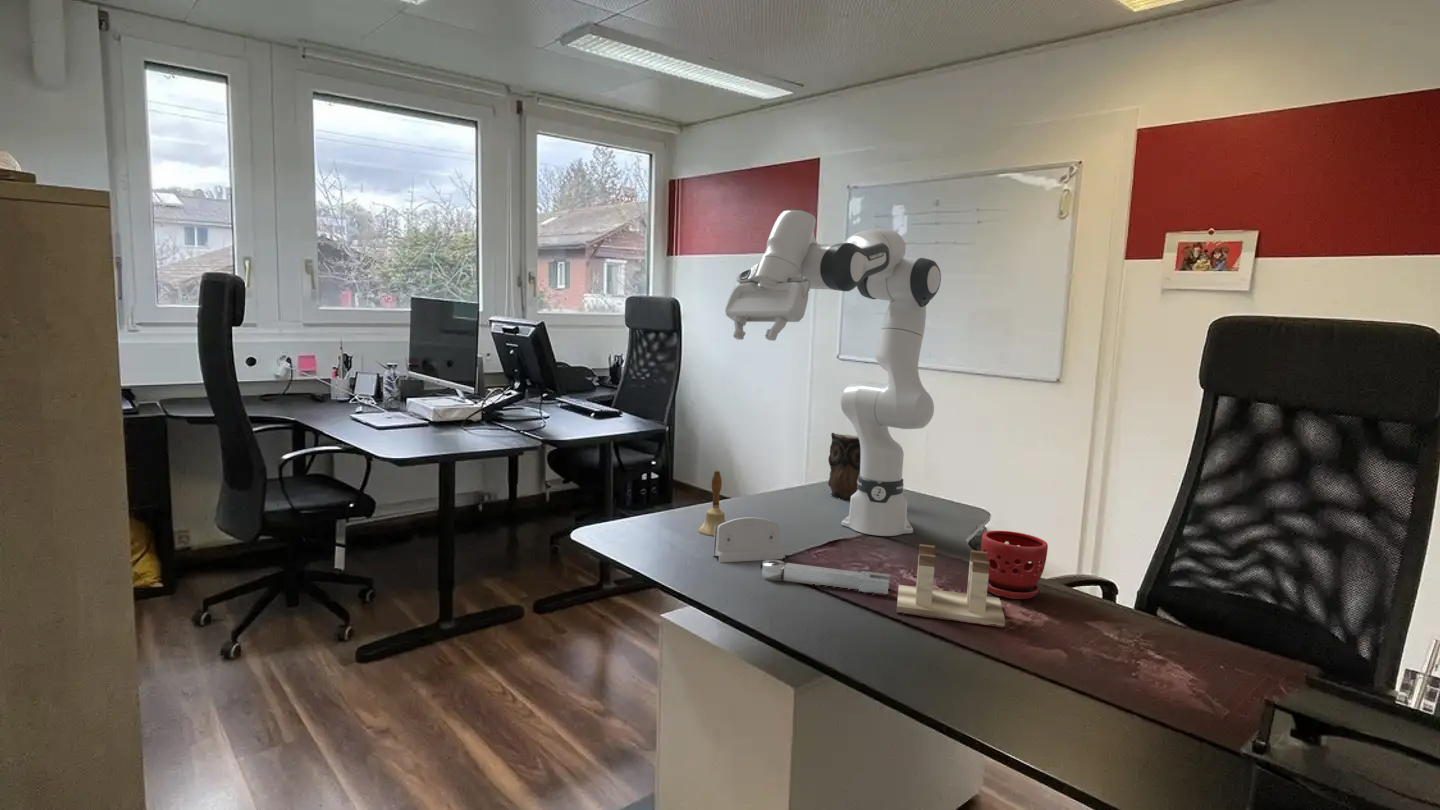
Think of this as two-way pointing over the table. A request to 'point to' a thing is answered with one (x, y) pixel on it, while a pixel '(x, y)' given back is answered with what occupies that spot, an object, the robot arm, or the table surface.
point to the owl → (844, 465)
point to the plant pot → (1014, 563)
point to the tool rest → (951, 603)
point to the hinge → (748, 540)
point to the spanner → (825, 576)
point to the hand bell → (713, 508)
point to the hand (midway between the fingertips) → (753, 338)
